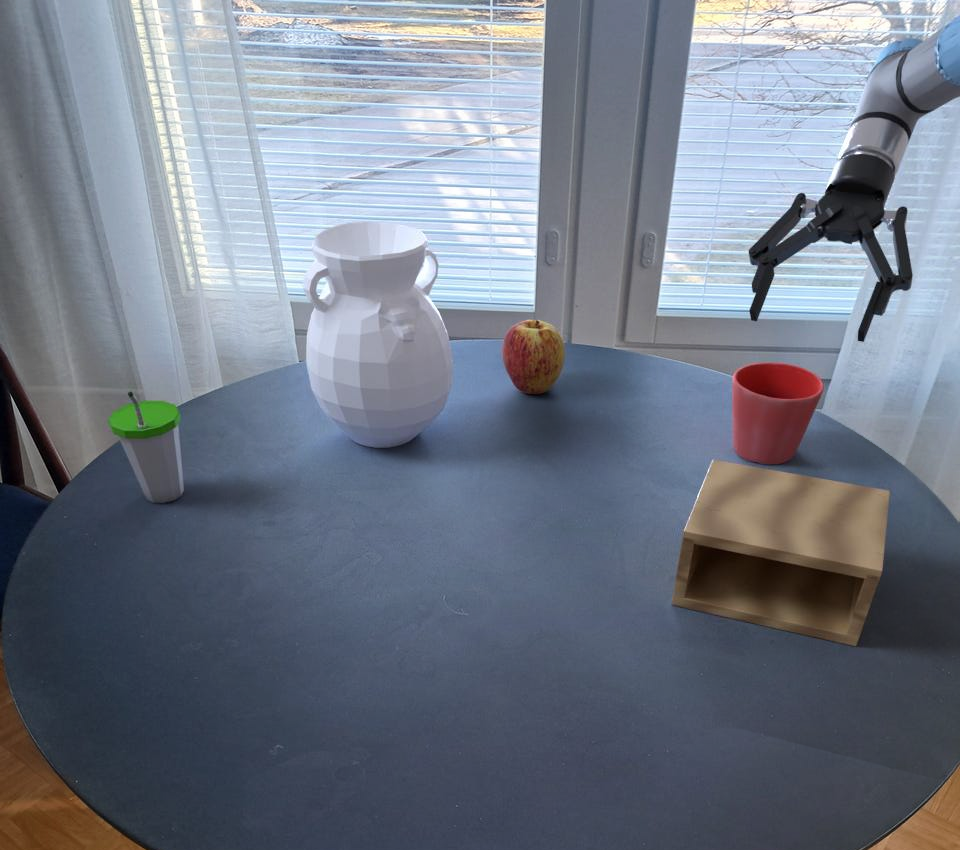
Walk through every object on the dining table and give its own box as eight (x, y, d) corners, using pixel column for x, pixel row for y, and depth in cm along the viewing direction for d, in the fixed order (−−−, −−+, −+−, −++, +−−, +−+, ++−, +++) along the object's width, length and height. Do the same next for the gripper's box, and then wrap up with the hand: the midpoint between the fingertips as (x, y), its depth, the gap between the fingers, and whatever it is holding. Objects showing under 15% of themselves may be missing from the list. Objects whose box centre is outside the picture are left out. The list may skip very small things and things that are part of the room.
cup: (156, 473, 113) (125, 357, 103) (210, 483, 111) (183, 367, 101) (117, 504, 107) (81, 385, 98) (173, 515, 105) (141, 395, 96)
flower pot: (752, 478, 111) (768, 405, 105) (705, 439, 119) (717, 369, 113) (823, 462, 114) (843, 390, 108) (772, 425, 122) (788, 356, 116)
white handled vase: (350, 480, 111) (327, 273, 95) (295, 421, 124) (266, 229, 108) (480, 443, 119) (479, 244, 103) (415, 391, 131) (406, 206, 115)
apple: (495, 379, 134) (495, 312, 127) (553, 373, 136) (556, 306, 129) (511, 405, 127) (512, 335, 121) (572, 398, 129) (576, 329, 122)
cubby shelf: (866, 563, 97) (890, 490, 92) (856, 646, 87) (882, 570, 81) (700, 529, 103) (712, 459, 97) (671, 605, 92) (683, 531, 86)
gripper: (967, 200, 112) (906, 359, 112) (770, 175, 122) (714, 321, 122) (975, 162, 105) (911, 331, 105) (766, 139, 115) (707, 293, 115)
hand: (805, 326), depth 114 cm, fingers open, 13 cm apart
